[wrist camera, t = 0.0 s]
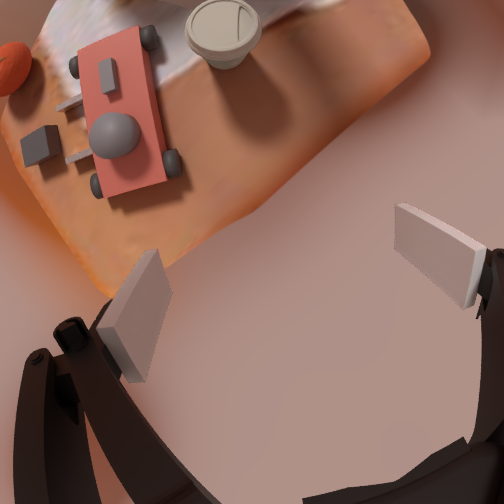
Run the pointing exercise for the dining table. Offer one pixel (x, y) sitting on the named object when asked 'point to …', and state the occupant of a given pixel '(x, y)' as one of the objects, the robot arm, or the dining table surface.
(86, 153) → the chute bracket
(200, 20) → the coffee cup
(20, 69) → the tomato
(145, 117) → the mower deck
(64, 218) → the dining table surface
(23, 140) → the grey cube
